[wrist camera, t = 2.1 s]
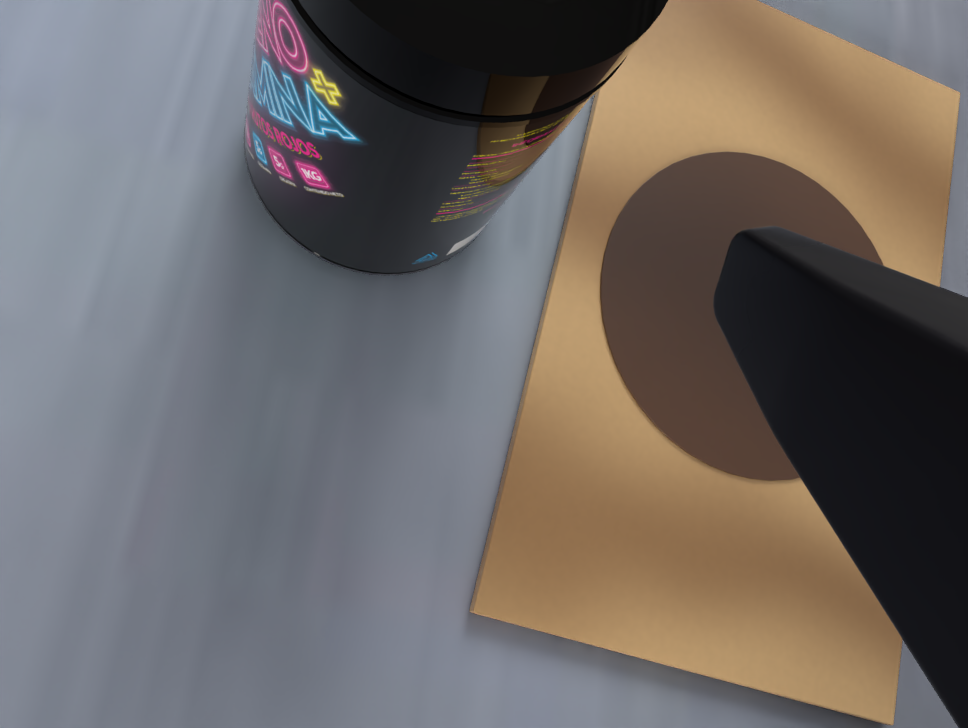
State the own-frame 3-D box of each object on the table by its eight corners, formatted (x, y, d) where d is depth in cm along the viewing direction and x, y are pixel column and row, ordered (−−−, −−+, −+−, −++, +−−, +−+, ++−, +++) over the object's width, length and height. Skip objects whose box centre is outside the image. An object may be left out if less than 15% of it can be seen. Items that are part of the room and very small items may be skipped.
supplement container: (339, -3, 25) (431, -374, 15) (540, 149, 26) (749, -113, 16) (183, 177, 23) (175, -127, 13) (409, 337, 23) (560, 165, 14)
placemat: (883, 724, 25) (896, 726, 24) (468, 612, 22) (473, 612, 22) (951, 98, 31) (962, 91, 30) (629, -48, 28) (636, -58, 28)
